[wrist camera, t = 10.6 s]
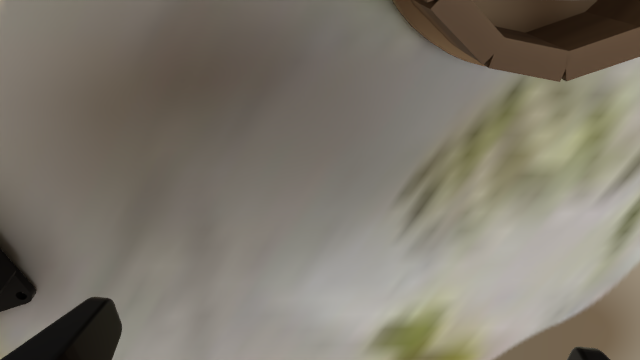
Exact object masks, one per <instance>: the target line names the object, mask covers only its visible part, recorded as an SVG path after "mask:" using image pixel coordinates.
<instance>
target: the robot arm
mask: <svg viewBox="0 0 640 360" xmlns="http://www.w3.org/2000/svg"><path fill="white" fill-rule="evenodd" d="M22 292H23V293H22ZM24 293H25V294H24ZM35 294H36V289H35V288H34V286H33V285H32V284H31V283H30V282H29V281H28V279H27V278H26V277H25V276H24V275H23V274H22V273H21V271H20V270H19V269H18V268H17V267H16V266H15V265H14V263H13V262H12V261H11V260H10V259H9V258H8V257H7V255H6V254H5V253H4V252H3V251H2V250H1V249H0V312H1V311H4V310H7V309H10V308H14V307H17V306H20V305H23V304H26V303H28V302H30V301H31V300H32V298H33V297H34V295H35ZM121 332H122V324H121V321H120V318H119V315H118V312H117V310H116V307H115V304H114V302H113V301H112V300H111V299H109V298H102V297H91V298H89V299H87V300H85V301H84V302H82V303H81V304H80V305H78V306H77V307H75V308H74V309H72V310H71V311H70V312H68V313H67V314H65V315H64V316H62V317H61V318H60V319H58V320H57V321H55V322H54V323H52V324H51V325H50V326H48V327H47V328H45V329H44V330H42V331H41V332H40V333H38V334H37V335H35V336H34V337H32V338H31V339H30V340H28V341H27V342H25V343H24V344H22V345H21V346H19V347H18V348H17V349H15V350H14V351H12V352H11V353H9V354H8V355H7V356H5V357H4V358H2V359H1V360H112V358H113V355H114V352H115V350H116V347H117V344H118V342H119V339H120V336H121ZM567 360H610V359H609V358H608V357H607V356H606V355H605V354H604V353H603V352H601V351H600V350H598V349H595V348H586V347H575V348H574V349H573V350H572V351H571V353H570V355H569V357H568V359H567Z"/></svg>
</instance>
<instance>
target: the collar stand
mask: <svg viewBox="0 0 640 360" xmlns="http://www.w3.org/2000/svg"><path fill="white" fill-rule="evenodd" d="M392 1H393V2H394V4H395V5H396V7H397V8H398V10H399V12H400V13H401V14H402V15H403V16H404V17H405V19H406V20H407V21H408V22H409V23H410V24H411V26H412V27H414V28H415V29H416V30H417V31H418V32H419V33H420V34H422V35H423V36H424V37H425V38H426V39H428V40H429V41H430V42H432V43H433V44H435V45H436V46H438V47H439V48H441V49H443V50H444V51H446V52H447V53H449V54H451V55H453V56H455V57H458V58H460V59H462V60H464V61H467V62H471V63H474V64H478V65H482V66H487V67H488V68H492V69H497V70H502V71H507V72H512V73H518V74H523V75H528V76H533V77H538V78H543V79H548V80H554V81H559V82H560V80H561V78H562V79H563V80H565V81H569V80H571V79H574V78H577V77H580V76H583V75H586V74H589V73H592V72H595V71H598V70H601V69H604V68H607V67H610V66H613V65H616V64H619V63H622V62H625V61H628V60H631V59H634V58H637V57H640V0H574V1H573V0H392Z"/></svg>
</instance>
